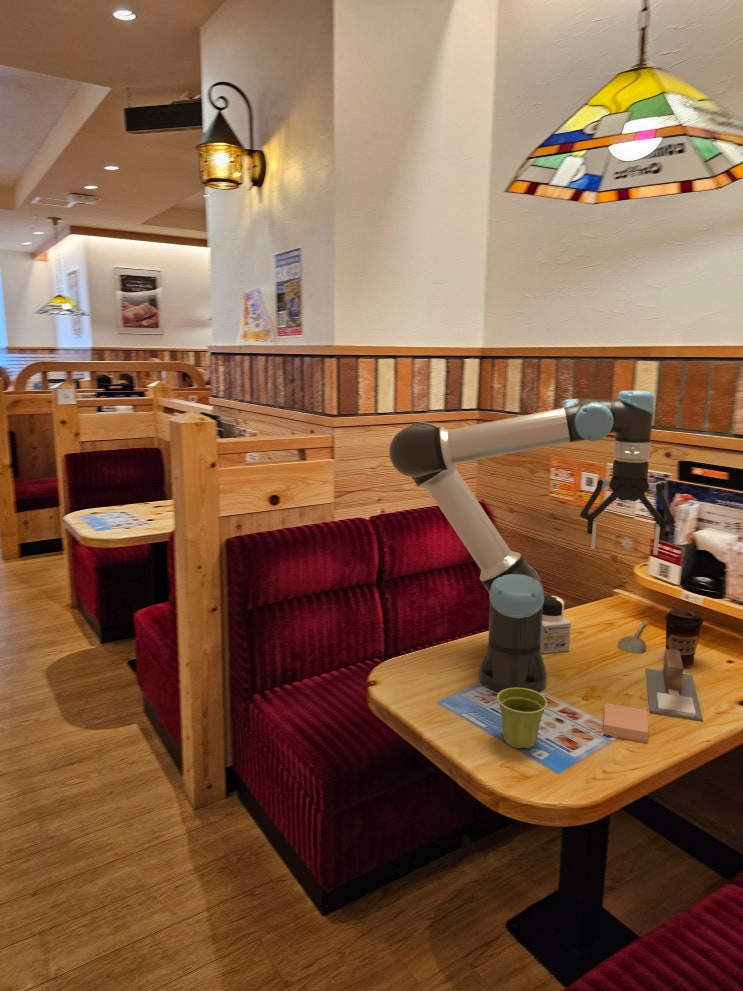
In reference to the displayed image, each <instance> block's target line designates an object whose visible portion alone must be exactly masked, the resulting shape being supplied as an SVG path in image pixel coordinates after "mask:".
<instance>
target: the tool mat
mask: <svg viewBox="0 0 743 991" xmlns="http://www.w3.org/2000/svg"><path fill="white" fill-rule="evenodd" d="M645 677H646V678H647V679H646V688H647V689H648V690H647V698H648V699H647V700H648V708H649V713H650V714H655V715H662V716H665V717H667V716H668V717H673V718H680V719H685V720H691V721H698V722H703V721H704V718H703V714H702V710H701V707H700V702H699V698H698V693H697V689H696V685H695V684H696V683H695V681H694V677H693V674H687V673H683V677H682V686H681V694H679V696H683V697H690V698H692V699H693V703H694V708H695V712H696V717H691V716H684V715H678V714H672V713H666V712H660V711H658V704H657V692H658V693H664V694H668V692H666V690H665V684H664V677H663V669H662V670H660V669H656V668H655V669H654V668H647V667H646V668H645Z"/></svg>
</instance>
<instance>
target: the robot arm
mask: <svg viewBox="0 0 743 991" xmlns="http://www.w3.org/2000/svg"><path fill="white" fill-rule="evenodd" d="M654 400H655V399H654V395H653V393H652V392H651V391H647V390H621V391H619V392H618V395H617V398H615V399H597V398H596V399H593V398H592V399H591V398H573V399H572V398H569V399H564V401H562V402H563V403H562V408H557V409H550V410H545V411H540V412H535V413H531V414H526V415H520V416H514V417H509V418H503V419H500V420H493V421H489V422H483V423H479V424H472V425H469V426H462V427H457V428H452V429H446V428H445V427H443V426H439V427H438V426H437V425H435V424H432V423H430V422H425V421H421V422H420V421H419V422H416V423H415V422H414V423H412V424H411V425H408V426H406V428H402V429H401V430H400V431H398V432H397V433H396V434H395V436H394V437H393V438H392V440H391V442H390V445H389V451H388V452H389V453H388V454H389V459H390V462H391V464H392V466H393V468H394V469H395V470H396V471H397V472H399V473H400V474H402V475H404V476H406V477H410V478H412V480H413V481H414V483H415V485H416V486H417V487H418V488H421V489H426V490H427V491H428V492H429V494H430V495H431V498H432V499H433V500H434V502H435V503H436V505H437V506H438V507H439V509H440V511H441V512H442V514H443V515H444V516H445V518H446V519H447V521H448V523H449V524H450V526H451V527H452V528H453V530H454V532H456V535H457V536H458V537H459V539H460V541H461V542H462V543H463V545H464V547H465V548H466V549H467V551H468V552H469V554H470V555H471V557H472V558H473V560H474V561H475V563H476V564H477V566H478V567H479V569H480V576H479V580H480V581H481V583H482V585H483V586H484V588H485V589H486V590H487V592H488V593H489V615H488V616H489V617H488V619H489V620H488V621H489V622H488V638H487V639H488V642H487V644H488V645H487V647H486V650H485V652H484V655H483V657H482V660H481V663H480V664H479V674H478V677H479V678H478V679H479V680H480V683H481V684H483V685H484V686H485V687H486V688H488V689H490V690H493V691H495V692H497V693H499V692H501V691H502V690H504V689H508V688H526V689H531V690H534V691H536V692H538V693H540V692H541V691H543V690H544V689H545V688H546V686H547V679H548V678H547V677H548V673H547V669H546V666H545V662H544V659H543V656H542V653H541V651H540V646H541V629H542V612H543V603H544V596H545V594H544V588H543V585H542V580H541V578H540V576H539V574H538V573H537V571H536V570H535V569H534V567H532V566H530V565H529V564H528V563H527V561H526V560H525V559H524V557H523V555H522V554H521V553H520V552H516V551H512V550H511V548H509V545H508V544H507V543H506V541H505V540H504V539H503V536H501V534H500V532H499V530H497V528H496V527H495V525H494V524H493V522H492V520H491V519H490V517H489V516H488V515H487V513H486V512H485V510H484V508H483V507H482V505H481V504H480V503H479V501H478V499H477V498H476V497H475V495H474V494H473V491H472V490H471V489H470V488H469V486H468V485H467V482H465V480H464V479H463V477H462V476H461V474H460V473H459V471H458V464H461V463H465V462H472V461H478V460H482V459H489V458H493V457H500V456H504V455H508V454H514V453H516V454H517V453H520V452H525V451H531V450H536V449H542V448H548V447H553V446H558V445H564V444H568V443H569V444H571V443H577V442H581V441H582V442H583V441H590V442H592V441H593V442H594V441H599V440H602V439H604V438H606V437H607V436H608V435H609V434H615V438H614V449H613V450H614V451H613V457H614V460H613V462H612V473H611V474H612V476H611V479H610V480H607V479H606V480H605V479H603V478H601V477H599V478H598V479H597V482H596V487H595V489H594V491H593V492H592V494H591V495H590V497H589V499H588V500H587V502H586V503H585V505H584V507H583V508H582V509H581V512H580V515H579V517H580V518H582V519H585V520H587V528H586V529H587V530H586V531H587V535H591V544H590V546H591V547H590V549H591V550H595V548H596V545H595V544H596V538H597V536H596V532H597V519H596V518H597V517H598V516H599V515H600V514H601V513H603V511H604V510H606V509H607V507H609V506H610V505H611V504H612V503H613V502H614V501H616V500H617V499H618V500H620V501H623V502H625V501H630V502H636V501H640V502H641V503H642V504H643V506H644V507H645V508H646V510H647V511H648V512H649V514H650V515H651V516H652V518H654V520H655V522H657V523H658V524H657V523H656V524H655V531H654V540H653V541H654V542H653V550H652V552H653V555H654V556H657V555H658V552H659V543H660V542H659V541H664V540H665V536H666V528H667V526H672V525H675V523H676V521H675V519H674V516H673V513H672V511H671V510H670V507H669V505H668V502H667V501H666V498H665V495H664V493H663V486H662V485H663V484H662V483H661V481H656V482H650V483H649V481H648V479H649V478H648V476H649V465H650V464H649V462H648V461H647V460H649V459H650V452H651V440H652V428H653V421H654V420H653V419H654V415H655V414H654V413H655V412H654ZM607 487H609V488H610V489H611V491H612V492H611V493H610V494H609V495H608V496H607V497H606V498H605V499H604V500H603V501H602V502H601V503H600V504H599V505H598V506H597V507H596V508H595V509H594V510H593V511H592V512H590V510H591V508H592V506H593V505H594V504H595V502H596V500H597V499H598V497H599V495H600V494H601V492H602V490H605V489H606V488H607ZM649 489H651V491H652V493H654V494H655V493H656V497H657V499H658V501H659V504H660V506H661V508H662V510H663V512H664V515H665V517H666V518H663V517H662V515H661V514H660V513H659V512H658V510H657V509H656V508H655V507H654V505H653V504H652V503H651V501H650V500H649V499H648V497H647V496H646V495H645V493H646V492H647V491H648V490H649ZM589 512H590V513H589Z"/></svg>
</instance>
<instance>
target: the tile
mask: <svg viewBox="0 0 743 991" xmlns="http://www.w3.org/2000/svg"><path fill="white" fill-rule="evenodd" d="M648 724H649V722H648V710H647V709H641V708H637V707H636V708H635V707H630V706H624V705H618V704H613V703H612V704H611V703H607V702H606V703H604V716H603V731H602V732H603V734H605V735H604V736H608V735H610V736H609V737H613V736H615V737H614V738H618V739H619V738H620V739H624V738H625V739H626V740H630V741H637V742H641V743H646V742H647V743H648V739H649V738H648V737H649V725H648ZM603 734H602V735H603ZM625 739H624V740H625Z"/></svg>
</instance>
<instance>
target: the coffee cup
mask: <svg viewBox="0 0 743 991" xmlns="http://www.w3.org/2000/svg"><path fill="white" fill-rule="evenodd" d="M664 618H665V649H671V650H678V651H680V656H681V661H682V665H683V669H684V668H693V667H694V666H695V655H696V649H697V646H698V645H699V638H700V631H701V628H702V626H703V624H704V619H703V618H702V616H701V613H700V612H699V611H697V610H693V609H689V608H683V607H681V608H673V609H671V610H669V612H668V613H667V614H666V615H665V617H664Z"/></svg>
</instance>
